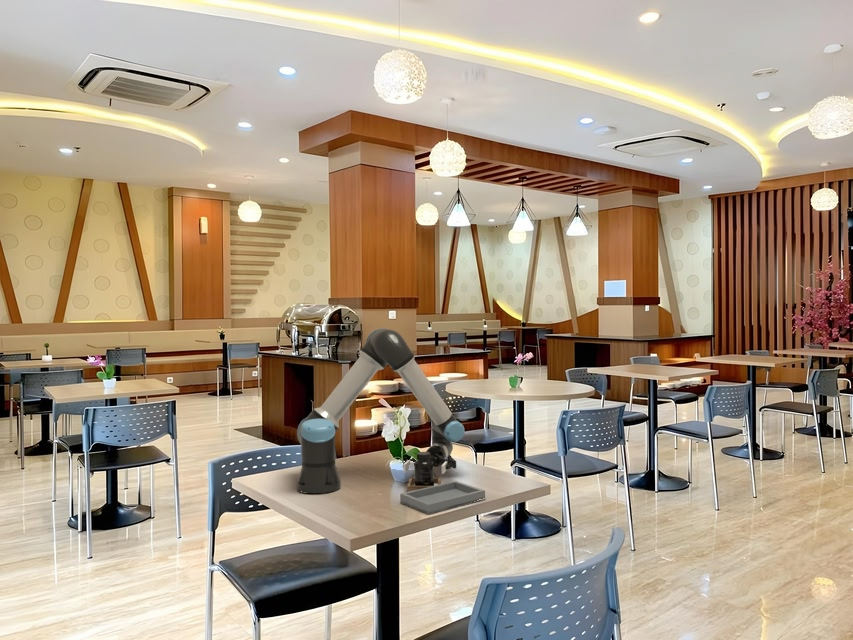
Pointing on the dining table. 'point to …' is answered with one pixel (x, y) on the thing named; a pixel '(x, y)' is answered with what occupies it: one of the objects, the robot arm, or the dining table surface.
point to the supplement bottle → (424, 470)
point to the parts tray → (441, 497)
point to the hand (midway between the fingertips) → (423, 469)
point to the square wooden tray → (412, 488)
